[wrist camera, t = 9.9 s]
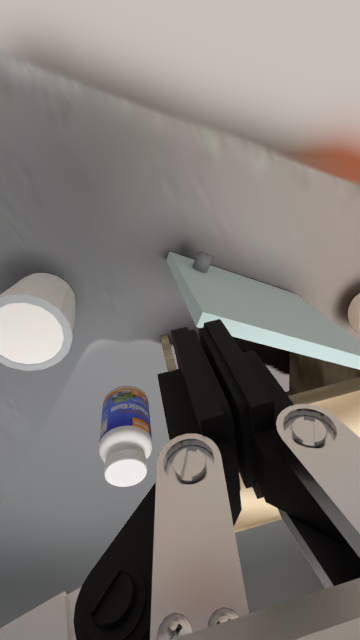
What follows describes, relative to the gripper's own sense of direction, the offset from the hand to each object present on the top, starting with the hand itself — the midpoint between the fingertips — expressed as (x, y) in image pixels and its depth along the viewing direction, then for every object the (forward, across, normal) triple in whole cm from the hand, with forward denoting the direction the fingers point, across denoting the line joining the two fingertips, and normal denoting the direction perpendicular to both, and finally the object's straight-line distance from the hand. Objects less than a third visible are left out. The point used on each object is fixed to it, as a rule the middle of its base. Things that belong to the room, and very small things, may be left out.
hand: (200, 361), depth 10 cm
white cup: (+21, +11, +4) cm, 24 cm away
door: (+20, -8, +5) cm, 22 cm away
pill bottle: (+21, +7, +19) cm, 29 cm away
